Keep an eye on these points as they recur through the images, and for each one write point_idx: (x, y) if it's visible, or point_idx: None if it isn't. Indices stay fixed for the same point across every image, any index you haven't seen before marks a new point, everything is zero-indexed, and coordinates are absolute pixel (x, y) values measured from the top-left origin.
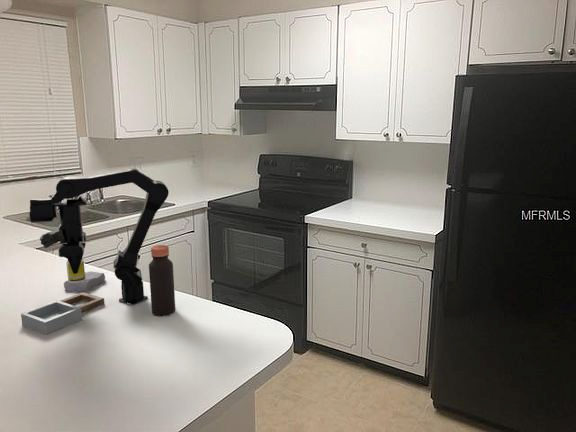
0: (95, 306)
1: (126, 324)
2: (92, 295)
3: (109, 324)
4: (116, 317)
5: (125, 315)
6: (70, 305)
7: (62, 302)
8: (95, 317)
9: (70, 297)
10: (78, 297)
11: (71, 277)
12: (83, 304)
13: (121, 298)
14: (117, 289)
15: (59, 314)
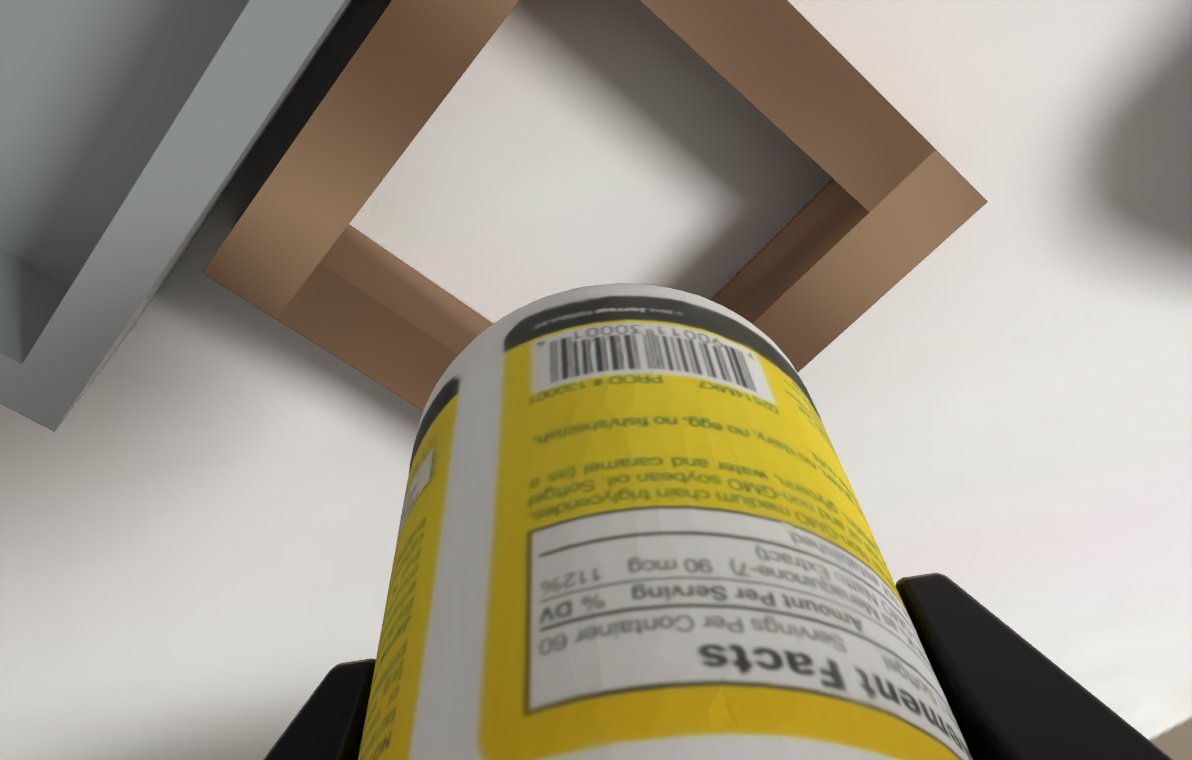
0: None
1: (47, 735)
2: None
3: (23, 617)
4: (212, 642)
5: (266, 699)
6: (137, 252)
7: (283, 64)
8: (202, 461)
9: (785, 46)
10: (814, 160)
11: (405, 499)
12: (411, 338)
13: None
14: (1105, 516)
15: (143, 6)
